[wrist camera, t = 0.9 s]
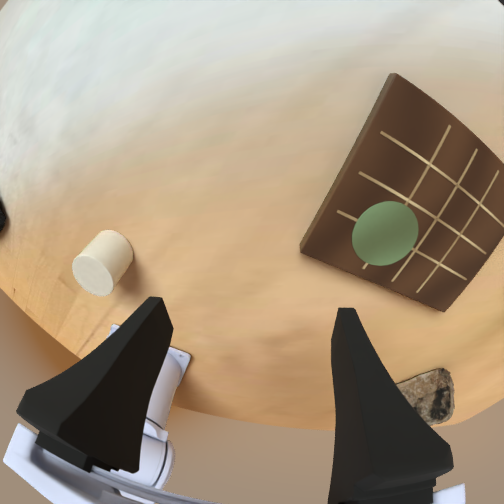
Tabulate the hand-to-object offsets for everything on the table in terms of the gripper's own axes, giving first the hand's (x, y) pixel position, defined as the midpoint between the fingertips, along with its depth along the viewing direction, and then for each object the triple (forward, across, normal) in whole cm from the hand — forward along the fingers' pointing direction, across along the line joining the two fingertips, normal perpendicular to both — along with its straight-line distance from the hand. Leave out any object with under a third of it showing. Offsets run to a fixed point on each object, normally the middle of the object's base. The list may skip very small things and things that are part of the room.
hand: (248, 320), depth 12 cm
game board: (+11, -12, 0) cm, 17 cm away
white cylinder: (+10, +14, +4) cm, 17 cm away
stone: (+10, -19, +25) cm, 33 cm away
